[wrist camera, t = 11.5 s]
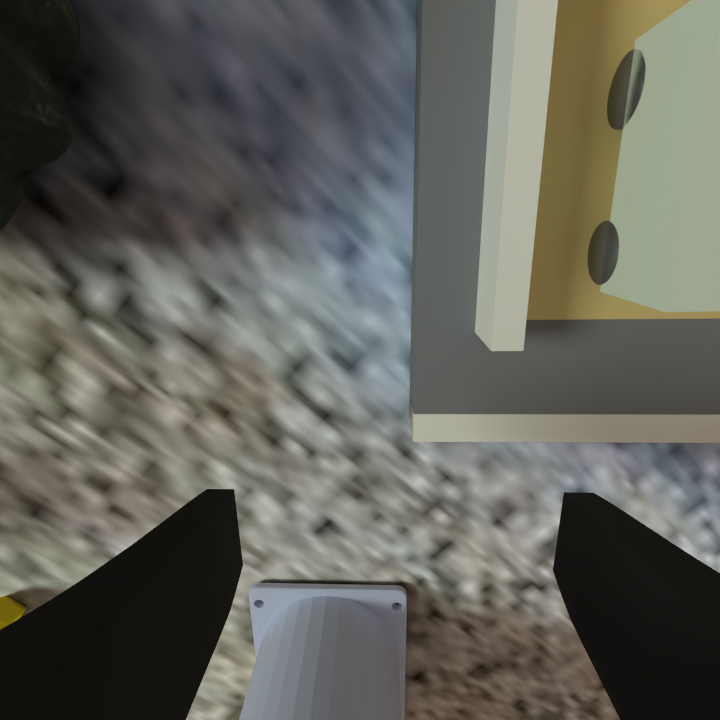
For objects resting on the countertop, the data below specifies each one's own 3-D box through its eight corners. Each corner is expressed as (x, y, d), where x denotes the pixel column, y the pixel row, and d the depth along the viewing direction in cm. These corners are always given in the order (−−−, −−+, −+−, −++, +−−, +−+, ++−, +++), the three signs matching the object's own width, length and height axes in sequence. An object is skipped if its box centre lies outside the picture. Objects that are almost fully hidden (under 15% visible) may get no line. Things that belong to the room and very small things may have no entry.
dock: (782, 420, 19) (900, 478, 15) (409, 419, 20) (418, 474, 15) (939, -112, 14) (1198, -265, 9) (419, -87, 14) (436, -219, 10)
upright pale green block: (713, 284, 15) (847, 309, 11) (583, 286, 15) (664, 311, 11) (763, 49, 13) (956, -37, 9) (613, 55, 13) (728, -26, 9)
